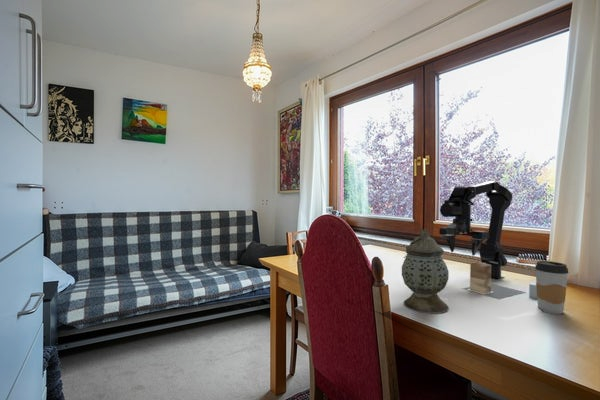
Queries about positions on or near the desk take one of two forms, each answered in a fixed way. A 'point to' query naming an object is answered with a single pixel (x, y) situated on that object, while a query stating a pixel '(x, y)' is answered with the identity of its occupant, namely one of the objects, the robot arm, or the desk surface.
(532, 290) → the block
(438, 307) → the lantern
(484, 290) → the oak block
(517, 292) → the build mat
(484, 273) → the walnut block
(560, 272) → the coffee cup
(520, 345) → the desk surface
